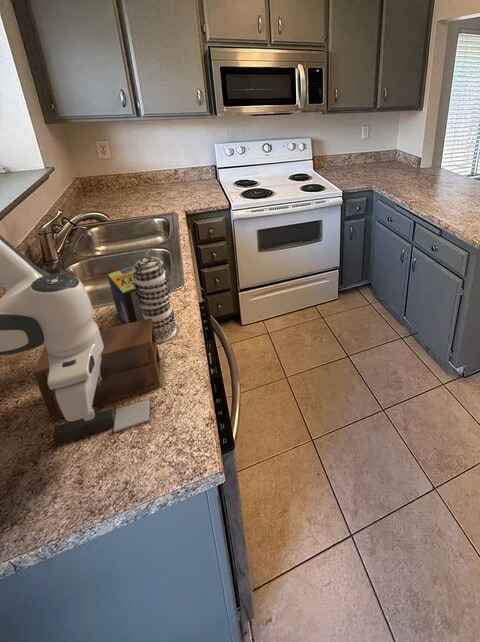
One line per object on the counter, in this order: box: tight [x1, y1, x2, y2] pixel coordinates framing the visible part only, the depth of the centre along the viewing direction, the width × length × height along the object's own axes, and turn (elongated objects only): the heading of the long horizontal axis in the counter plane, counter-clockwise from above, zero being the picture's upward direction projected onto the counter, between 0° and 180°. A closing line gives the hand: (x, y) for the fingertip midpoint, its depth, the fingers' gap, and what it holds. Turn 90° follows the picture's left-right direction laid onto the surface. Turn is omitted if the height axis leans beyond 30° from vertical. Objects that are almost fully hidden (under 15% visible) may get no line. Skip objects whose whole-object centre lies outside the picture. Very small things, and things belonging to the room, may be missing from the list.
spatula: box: [51, 398, 151, 446], centre depth 79 cm, size 18×6×3 cm, turn 114°
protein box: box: [107, 265, 143, 325], centre depth 114 cm, size 10×15×16 cm
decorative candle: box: [132, 256, 177, 344], centre depth 105 cm, size 9×9×25 cm
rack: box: [33, 318, 162, 421], centre depth 87 cm, size 23×10×14 cm, turn 114°
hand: (93, 399), depth 77 cm, fingers open, 8 cm apart
